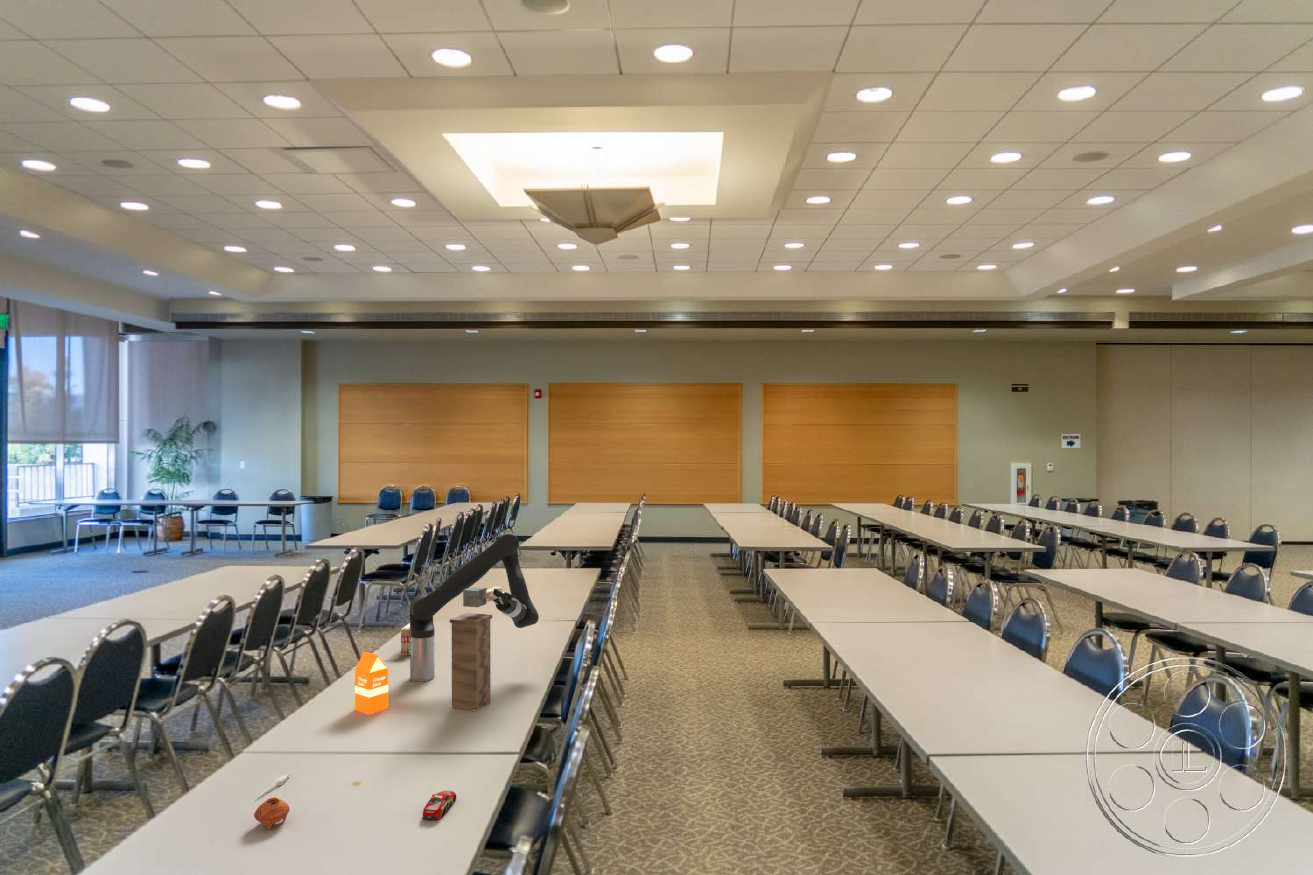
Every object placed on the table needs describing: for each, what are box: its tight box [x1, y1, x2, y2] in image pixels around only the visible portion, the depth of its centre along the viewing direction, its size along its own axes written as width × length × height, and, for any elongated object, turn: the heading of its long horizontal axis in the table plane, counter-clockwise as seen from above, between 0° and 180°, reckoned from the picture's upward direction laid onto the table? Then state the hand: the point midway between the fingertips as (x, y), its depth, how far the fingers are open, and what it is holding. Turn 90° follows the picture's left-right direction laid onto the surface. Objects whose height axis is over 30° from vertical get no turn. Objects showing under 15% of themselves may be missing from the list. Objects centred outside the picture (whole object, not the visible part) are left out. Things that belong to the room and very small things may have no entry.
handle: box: [462, 586, 503, 608], centre depth 286 cm, size 20×6×6 cm, turn 162°
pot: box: [253, 797, 290, 830], centre depth 191 cm, size 8×8×7 cm
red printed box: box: [400, 622, 411, 656], centre depth 352 cm, size 21×6×12 cm, turn 0°
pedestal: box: [449, 612, 493, 712], centre depth 277 cm, size 11×11×32 cm
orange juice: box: [354, 651, 389, 715], centre depth 273 cm, size 8×9×20 cm
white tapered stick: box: [255, 771, 292, 801], centre depth 211 cm, size 15×3×2 cm, turn 171°
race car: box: [422, 790, 457, 820], centre depth 199 cm, size 13×5×4 cm, turn 173°
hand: (489, 590), depth 290 cm, fingers closed on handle, 3 cm apart
